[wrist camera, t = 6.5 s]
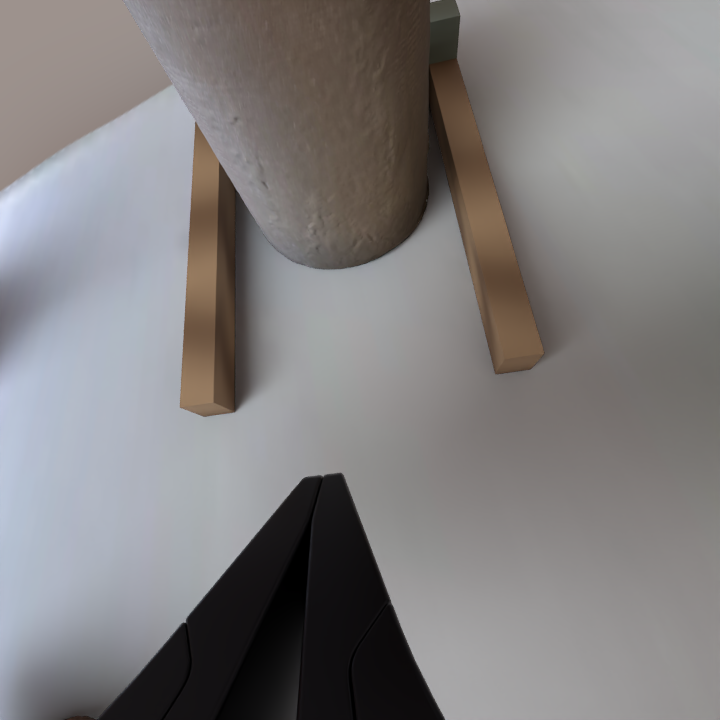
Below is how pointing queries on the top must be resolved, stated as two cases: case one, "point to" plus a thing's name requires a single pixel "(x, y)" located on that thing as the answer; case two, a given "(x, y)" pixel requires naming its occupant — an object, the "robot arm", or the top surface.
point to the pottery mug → (81, 718)
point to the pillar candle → (308, 113)
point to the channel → (474, 214)
